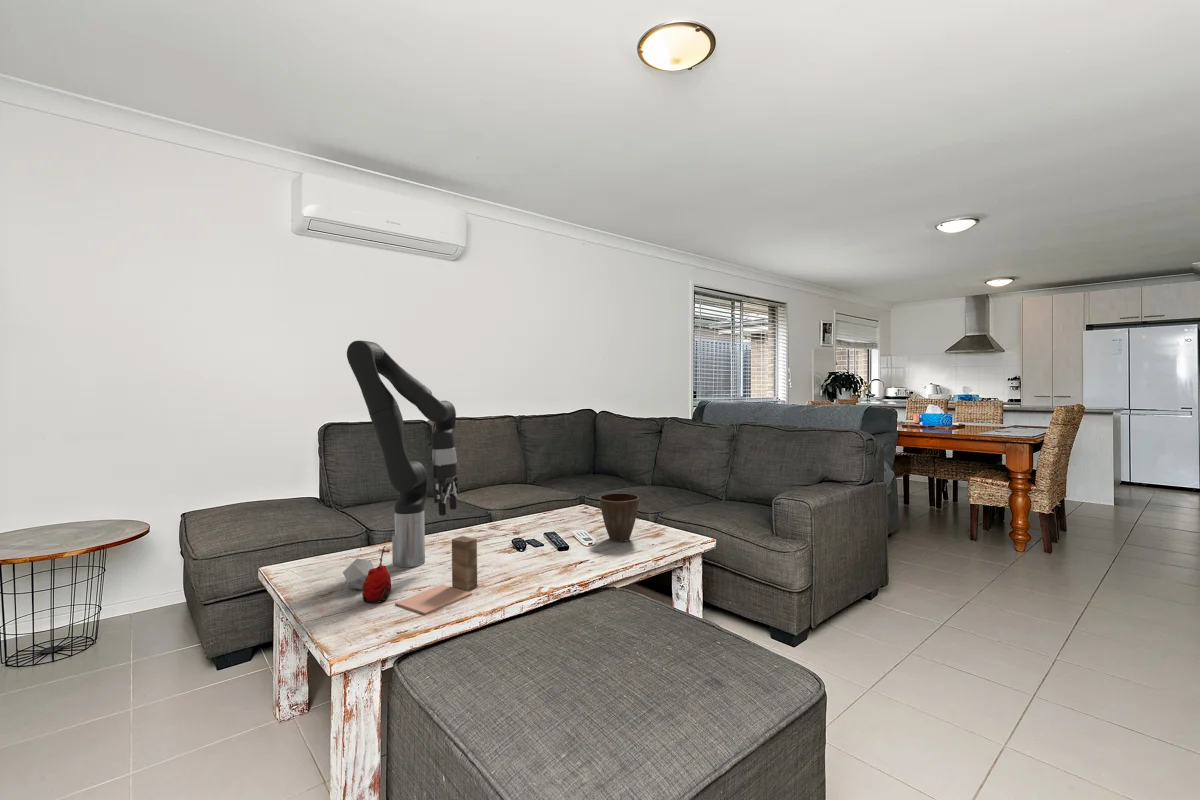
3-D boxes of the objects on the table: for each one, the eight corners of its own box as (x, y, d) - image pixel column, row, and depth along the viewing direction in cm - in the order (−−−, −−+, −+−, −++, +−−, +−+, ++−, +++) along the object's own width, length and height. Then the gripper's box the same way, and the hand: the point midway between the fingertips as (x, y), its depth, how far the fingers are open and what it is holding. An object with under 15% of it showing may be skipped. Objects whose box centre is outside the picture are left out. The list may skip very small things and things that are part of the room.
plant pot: (626, 547, 197) (626, 502, 197) (591, 541, 206) (591, 498, 205) (646, 537, 210) (646, 495, 210) (612, 532, 218) (612, 491, 218)
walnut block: (462, 583, 162) (462, 535, 162) (477, 587, 159) (476, 538, 159) (452, 587, 159) (451, 539, 158) (466, 591, 156) (466, 542, 155)
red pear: (380, 592, 155) (379, 539, 154) (397, 597, 152) (397, 543, 151) (356, 602, 148) (356, 546, 148) (375, 607, 145) (374, 550, 144)
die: (347, 597, 153) (369, 568, 154) (331, 577, 157) (352, 549, 158) (367, 598, 160) (388, 570, 161) (351, 578, 164) (372, 552, 165)
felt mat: (442, 586, 160) (442, 584, 160) (471, 594, 153) (471, 592, 153) (395, 604, 146) (395, 602, 146) (425, 614, 140) (425, 612, 140)
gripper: (443, 460, 185) (446, 507, 186) (423, 466, 171) (427, 517, 172) (464, 458, 184) (467, 507, 185) (446, 464, 170) (450, 517, 171)
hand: (448, 512), depth 178 cm, fingers open, 8 cm apart
